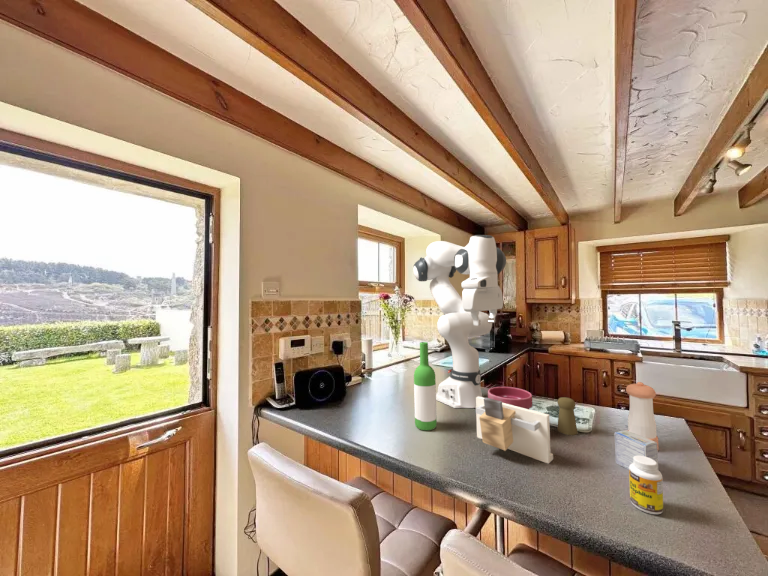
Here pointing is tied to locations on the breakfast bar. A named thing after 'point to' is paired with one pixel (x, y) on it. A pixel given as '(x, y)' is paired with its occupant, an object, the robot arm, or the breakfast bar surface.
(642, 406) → the pepper shaker
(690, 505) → the breakfast bar surface
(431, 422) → the wine bottle
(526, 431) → the wall board
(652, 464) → the supplement bottle
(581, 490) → the breakfast bar surface
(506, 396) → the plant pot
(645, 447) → the medicine box
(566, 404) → the pepper shaker
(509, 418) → the oak cabinet block
